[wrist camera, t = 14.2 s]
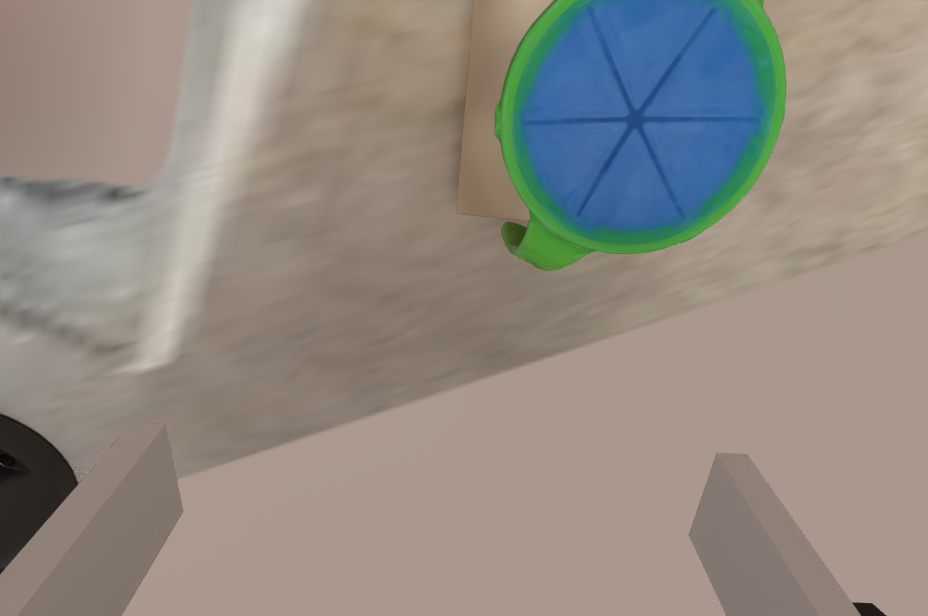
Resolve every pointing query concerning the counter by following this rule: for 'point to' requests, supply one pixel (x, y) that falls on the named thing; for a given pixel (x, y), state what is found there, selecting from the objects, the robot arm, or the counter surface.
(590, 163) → the snack cup
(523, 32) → the maple block
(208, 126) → the counter surface
